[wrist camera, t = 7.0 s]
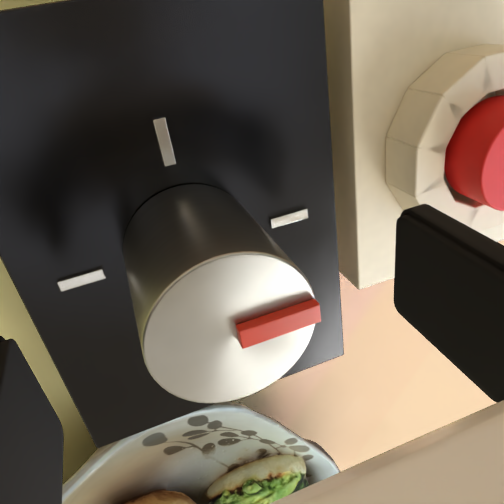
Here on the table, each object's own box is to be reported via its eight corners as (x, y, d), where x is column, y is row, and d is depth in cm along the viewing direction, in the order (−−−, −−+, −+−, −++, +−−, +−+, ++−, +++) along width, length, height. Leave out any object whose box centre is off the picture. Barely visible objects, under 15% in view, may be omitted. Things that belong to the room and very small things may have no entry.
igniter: (316, -2, 15) (383, -9, 12) (525, -40, 17) (633, -55, 14) (333, 266, 21) (383, 314, 17) (490, 214, 23) (562, 248, 19)
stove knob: (143, 318, 16) (169, 437, 11) (104, 203, 13) (118, 294, 9) (260, 281, 16) (327, 376, 12) (242, 168, 14) (316, 234, 10)
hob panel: (-83, 28, 12) (-119, 29, 10) (286, -32, 15) (324, -42, 12) (94, 404, 20) (97, 452, 17) (318, 323, 22) (346, 357, 20)
